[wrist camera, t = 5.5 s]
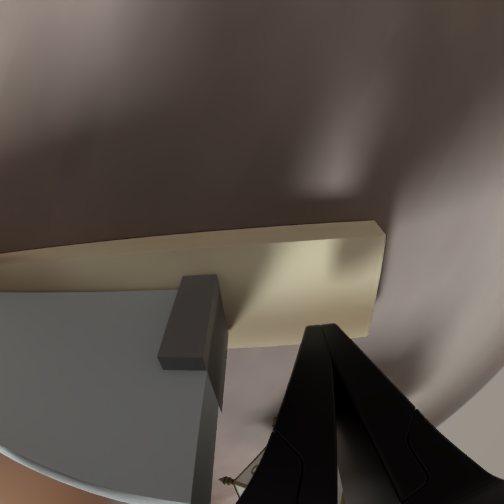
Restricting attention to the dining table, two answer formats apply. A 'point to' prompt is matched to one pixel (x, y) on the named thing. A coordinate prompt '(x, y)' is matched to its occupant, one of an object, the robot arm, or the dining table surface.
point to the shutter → (116, 388)
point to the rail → (230, 274)
